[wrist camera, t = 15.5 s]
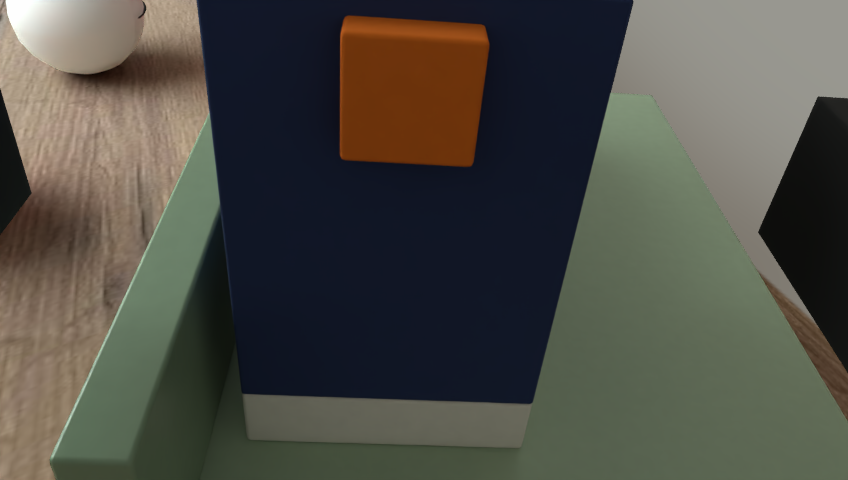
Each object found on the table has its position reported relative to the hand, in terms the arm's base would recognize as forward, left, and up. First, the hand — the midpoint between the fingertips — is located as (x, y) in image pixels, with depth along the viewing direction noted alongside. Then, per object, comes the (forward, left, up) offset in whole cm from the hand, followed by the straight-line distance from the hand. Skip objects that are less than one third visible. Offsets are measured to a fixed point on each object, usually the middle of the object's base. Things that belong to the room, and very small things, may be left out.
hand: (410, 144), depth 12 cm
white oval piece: (+37, -10, -14) cm, 41 cm away
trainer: (+5, -5, -7) cm, 10 cm away
